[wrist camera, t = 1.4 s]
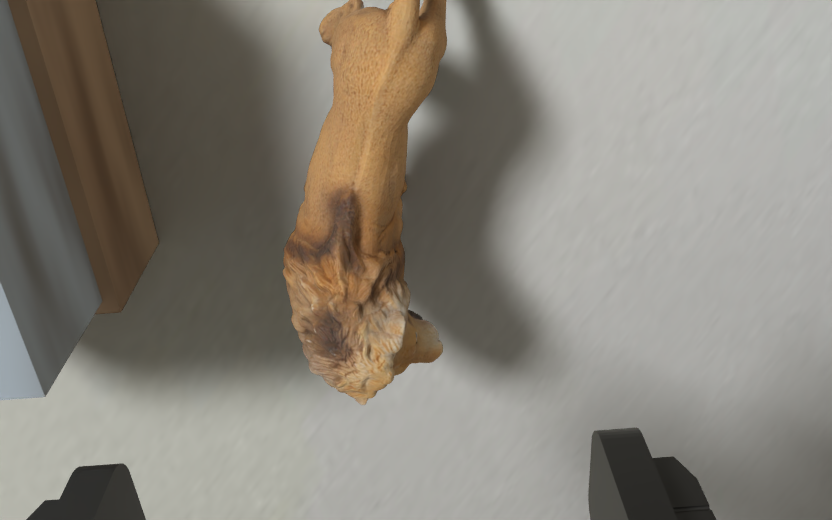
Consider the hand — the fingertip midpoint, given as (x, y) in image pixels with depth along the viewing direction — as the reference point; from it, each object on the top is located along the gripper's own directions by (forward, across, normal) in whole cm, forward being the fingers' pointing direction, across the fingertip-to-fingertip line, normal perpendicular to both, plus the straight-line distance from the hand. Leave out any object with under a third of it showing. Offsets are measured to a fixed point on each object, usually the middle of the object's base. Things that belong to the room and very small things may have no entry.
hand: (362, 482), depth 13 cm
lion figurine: (+18, 0, 0) cm, 18 cm away
